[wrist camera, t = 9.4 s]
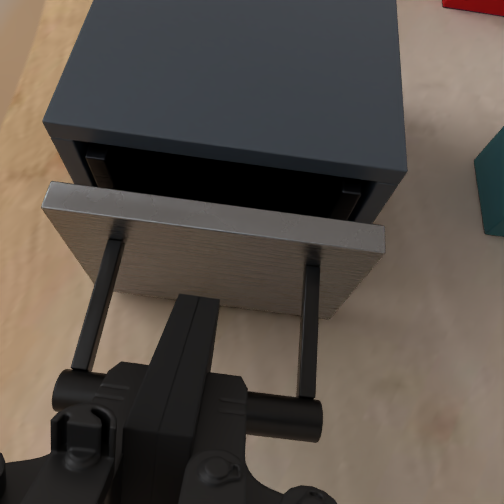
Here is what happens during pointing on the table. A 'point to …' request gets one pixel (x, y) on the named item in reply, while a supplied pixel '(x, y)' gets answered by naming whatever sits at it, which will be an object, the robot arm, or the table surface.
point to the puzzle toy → (477, 6)
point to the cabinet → (240, 87)
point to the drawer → (214, 255)
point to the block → (492, 184)
